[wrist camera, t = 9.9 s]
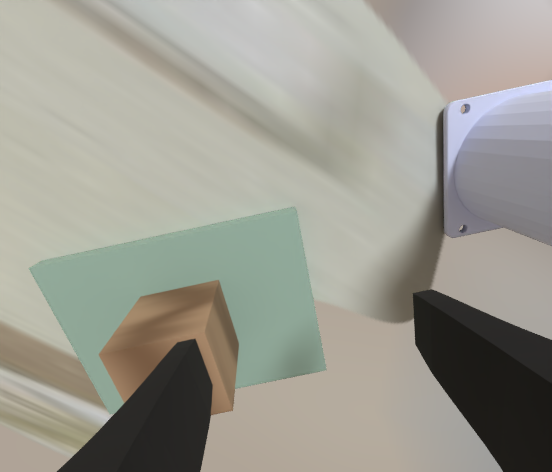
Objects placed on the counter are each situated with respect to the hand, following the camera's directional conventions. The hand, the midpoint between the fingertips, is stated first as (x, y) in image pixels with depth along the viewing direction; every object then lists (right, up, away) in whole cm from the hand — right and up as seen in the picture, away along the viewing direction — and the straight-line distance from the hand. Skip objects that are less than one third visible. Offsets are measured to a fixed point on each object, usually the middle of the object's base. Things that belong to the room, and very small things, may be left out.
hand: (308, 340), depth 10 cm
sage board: (-7, -2, +10) cm, 12 cm away
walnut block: (-7, -2, +9) cm, 12 cm away
